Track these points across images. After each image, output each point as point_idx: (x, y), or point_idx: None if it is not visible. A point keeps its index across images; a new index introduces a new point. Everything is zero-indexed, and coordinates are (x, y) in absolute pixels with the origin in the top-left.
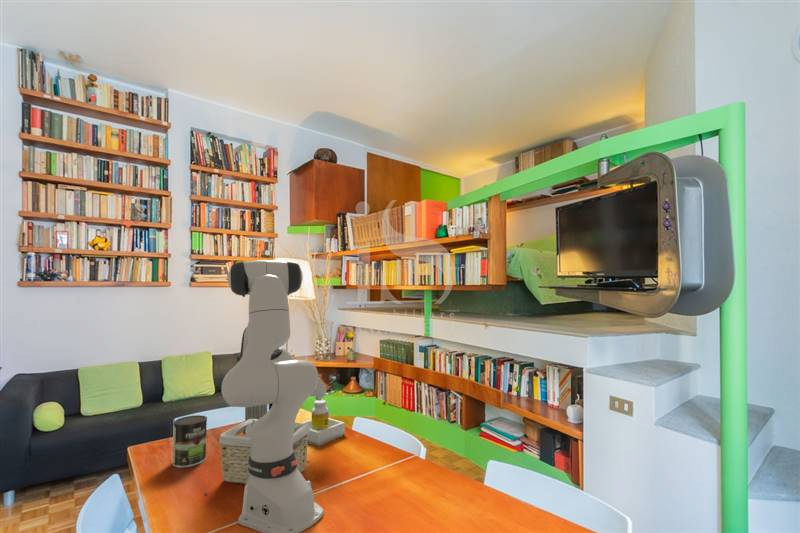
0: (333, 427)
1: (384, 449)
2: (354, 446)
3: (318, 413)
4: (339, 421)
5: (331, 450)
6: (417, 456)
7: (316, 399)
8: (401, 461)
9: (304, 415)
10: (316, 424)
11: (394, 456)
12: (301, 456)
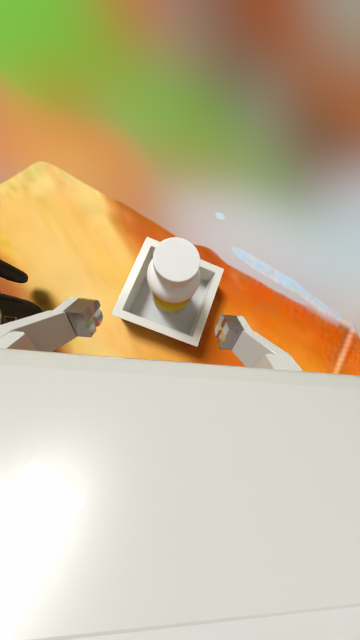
0: (212, 301)
1: (303, 324)
2: (253, 325)
3: (182, 300)
4: (209, 265)
5: (224, 354)
6: (356, 335)
7: (219, 340)
8: (343, 359)
9: (71, 190)
10: (173, 309)
11: (327, 345)
12: None
